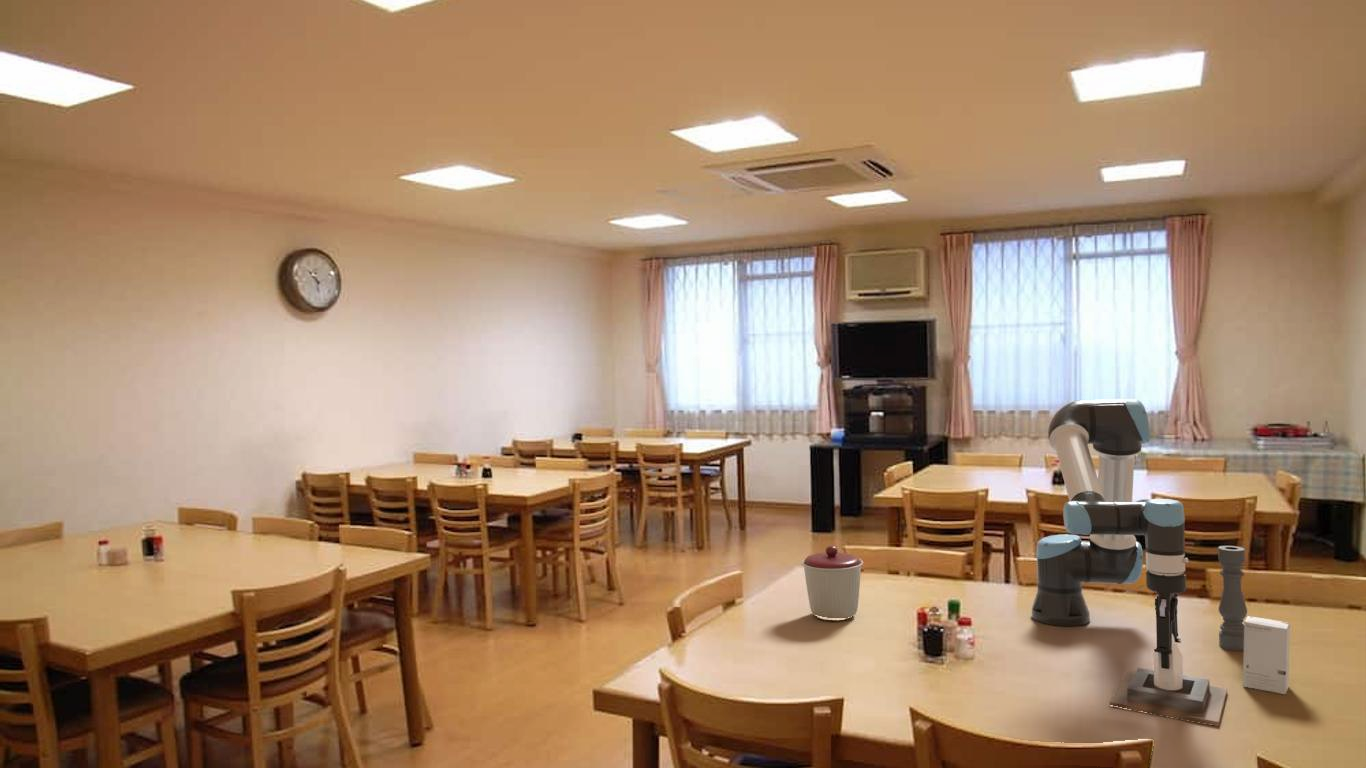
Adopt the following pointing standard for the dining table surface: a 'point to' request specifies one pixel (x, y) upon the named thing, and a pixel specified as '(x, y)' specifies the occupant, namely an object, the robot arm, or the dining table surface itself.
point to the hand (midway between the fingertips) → (1168, 676)
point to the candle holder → (1232, 598)
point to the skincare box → (1266, 654)
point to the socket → (1171, 697)
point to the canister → (833, 583)
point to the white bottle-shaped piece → (1176, 669)
